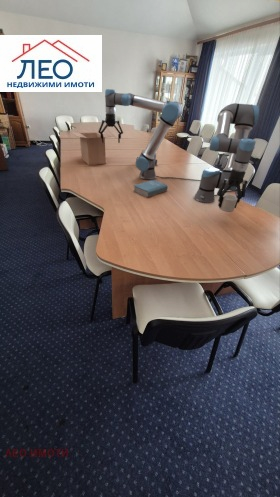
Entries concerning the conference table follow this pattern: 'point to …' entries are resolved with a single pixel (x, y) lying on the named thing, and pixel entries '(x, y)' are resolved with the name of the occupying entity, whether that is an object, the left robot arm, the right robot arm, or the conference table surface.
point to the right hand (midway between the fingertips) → (226, 206)
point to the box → (92, 146)
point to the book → (150, 188)
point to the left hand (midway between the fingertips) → (110, 142)
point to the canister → (228, 203)
